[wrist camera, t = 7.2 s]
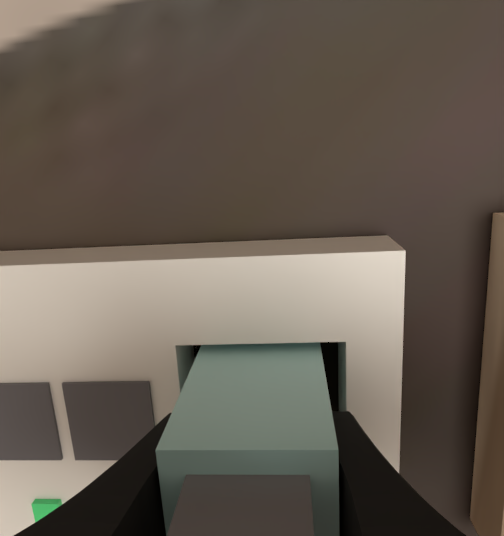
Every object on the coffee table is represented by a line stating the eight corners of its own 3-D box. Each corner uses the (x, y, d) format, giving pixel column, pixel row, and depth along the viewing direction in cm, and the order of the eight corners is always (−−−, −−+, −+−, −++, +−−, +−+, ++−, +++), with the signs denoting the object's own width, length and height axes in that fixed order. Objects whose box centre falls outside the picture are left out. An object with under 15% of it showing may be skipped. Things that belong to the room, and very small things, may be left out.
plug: (316, 321, 14) (355, 549, 6) (318, 416, 14) (355, 728, 7) (210, 324, 14) (114, 545, 6) (218, 417, 15) (141, 716, 7)
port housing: (387, 235, 13) (407, 252, 11) (382, 504, 15) (398, 563, 13) (-19, 251, 14) (-74, 270, 12) (34, 501, 16) (-5, 555, 14)
